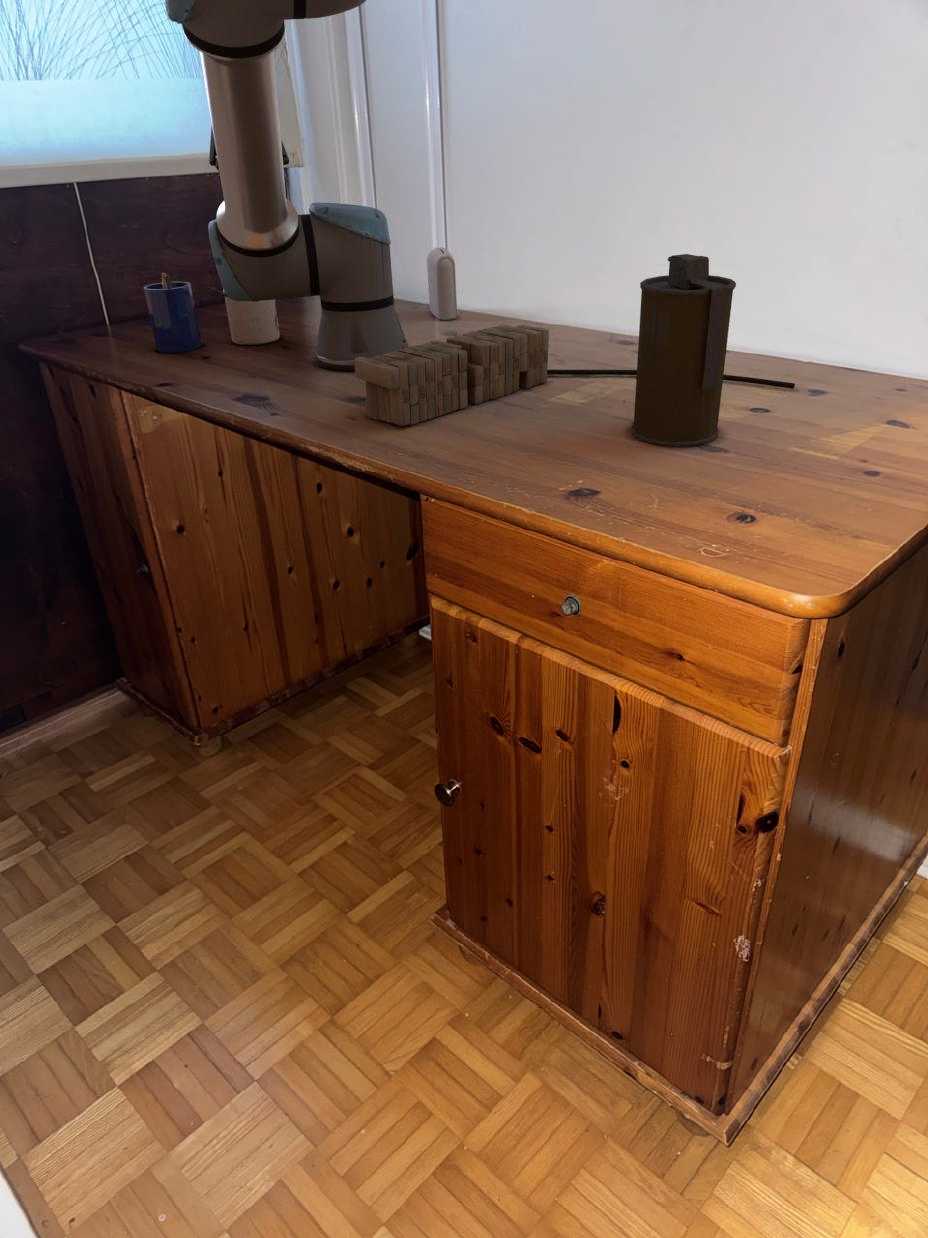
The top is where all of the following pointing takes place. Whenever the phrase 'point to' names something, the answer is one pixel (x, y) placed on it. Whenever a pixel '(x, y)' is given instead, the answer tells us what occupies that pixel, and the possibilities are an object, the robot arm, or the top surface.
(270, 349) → the top surface
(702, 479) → the top surface
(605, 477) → the top surface
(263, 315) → the teacup with lid
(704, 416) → the canister
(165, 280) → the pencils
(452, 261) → the photo printer
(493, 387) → the block tower
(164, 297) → the pen pot
